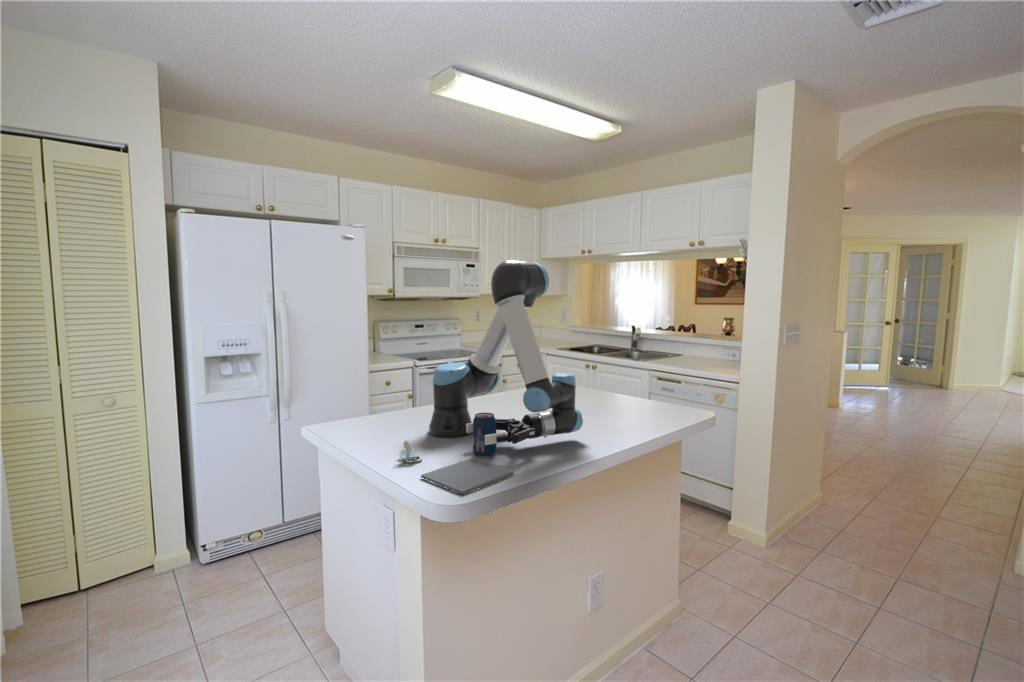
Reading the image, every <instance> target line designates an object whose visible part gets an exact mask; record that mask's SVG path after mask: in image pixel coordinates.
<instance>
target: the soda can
mask: <svg viewBox="0 0 1024 682" xmlns="http://www.w3.org/2000/svg"><path fill="white" fill-rule="evenodd" d="M496 419H497V418H496V417H495V414H494V413H492V412H478V413H475V414H474V418H473V420H472V423H473V432H472V451H473V452H474V455H475V456H476V457H478V456H479V458H489V457H490V458H491V457H493V456H494V455H495V453H496V452H497V443H496V444H490V445H485V435H489V434H496V433H497V430H496Z"/></svg>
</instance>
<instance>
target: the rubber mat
mask: <svg viewBox="0 0 1024 682" xmlns="http://www.w3.org/2000/svg"><path fill="white" fill-rule="evenodd" d="M512 475H513V476H514V471H512V470H509V469H506V468H503V467H500V466H498V465H494V464H490V463H489V462H486V461H482V460H481V459H480V460H479V459H476V458H473V457H471V458H468V459H465V460H462V461H459V462H456V463H452V464H449V465H447V466H444V467H443V466H442V467H441V468H437V469H434V470H431V471H429V472H426V473H422V474H421V475H420V478H421V477H422V478H424V479H427V480H429V481H432V482H434V483H436V484H439V485H441V486H443V487H446V488H448V489H450V490H453V491H455V492H457V493H459V494H462V495H463V494H465V495H467V494H466V493H468V494H470V493H472V492H471V491H473V490H475V491H477V490H476V489H478V488H480V489H482V488H481V487H483V488H485V487H487V486H486V485H488V486H490V485H492V484H491V483H493V484H495V483H498V482H500V481H502V479H503V480H505V479H507V477H508V478H510V477H509V476H511V477H513V476H512ZM504 478H505V479H504ZM499 480H500V481H499ZM497 481H498V482H497ZM494 482H495V483H494ZM489 484H490V485H489ZM484 486H485V487H484ZM450 490H449V491H450ZM478 490H479V489H478ZM455 492H454V493H455ZM469 492H470V493H469ZM473 492H474V491H473ZM457 493H456V494H457ZM459 494H458V495H459ZM462 495H461V496H462ZM463 496H464V495H463Z"/></svg>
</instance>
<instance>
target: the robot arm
mask: <svg viewBox="0 0 1024 682" xmlns="http://www.w3.org/2000/svg"><path fill="white" fill-rule="evenodd" d="M549 285H550V277H549V274H548V271H547V269H546V267H544V266H543V265H541V264H540V263H537V262H535V261H523V260H515V259H509V260H505V261H503V262H501V263H500V264H498V265H497V266H496V267H495V269H494V271H493V273H492V276H491V281H490V286H491V295H492V299H493V302H494V305H495V307H496V308H497V310H496V311H495V314H494V316H493V318H492V320H491V323H490V324H489V327H488V328H487V330H486V333H485V334H484V337H483V338H482V340H481V343H480V345H479V347H478V349H477V350H476V353H472V354H471V355H469V356H470V357H469V358H468V360H467V362H466V363H464V362H451V363H450V362H449V363H443V364H441V365H438V366H436V367H435V368H434V371H433V378H432V382H433V385H432V386H433V413H432V415H431V420H430V423H429V424H428V430H429V431H428V433H429V434H430V435H431V434H433V435H432V436H434V435H435V436H434V437H439V438H456V437H457V438H458V437H463V436H464V437H465V436H467V435H470V434H473V421H472V419H471V416H470V412H469V408H468V406H469V405H468V403H469V402H468V399H469V398H470V399H471V398H475V397H478V396H479V397H480V396H482V395H483V396H485V395H487V394H489V393H491V392H493V391H494V390H495V389H496V388H497V386H498V385H499V382H500V376H499V374H500V372H499V371H500V365H499V363H500V360H501V358H502V356H503V354H504V353H505V350H506V349H507V346H508V344H509V342H510V343H511V345H512V349H513V353H514V355H515V358H516V361H517V364H518V368H519V370H520V374H521V376H522V379H523V383H524V386H525V389H526V390H525V392H524V393H523V397H522V401H523V405H524V407H525V408H526V410H527V411H529V412H530V413H529V414H525V415H523V417H522V420H519V419H515V418H505V419H504V418H495V419H496V431H504V432H498V433H497V432H496V434H489V435H485V445H490V444H496V445H497V444H501V443H511V444H513V445H514V444H518V443H521V442H523V441H525V440H527V439H528V440H529V439H537V438H540V437H541V438H544V439H545V438H547V437H549V436H555V435H563V434H571V433H575V432H577V431H580V430H581V429H582V426H583V424H584V418H583V415H582V412H581V411H580V410H579V409H578V408H576V391H577V390H576V388H577V386H576V377H575V375H574V374H572V373H569V372H567V373H566V372H557V373H554V374H552V377H551V381H550V379H549V375H548V372H547V370H546V366H545V362H544V360H543V357H542V353H541V351H540V348H539V345H538V342H537V339H536V336H535V333H534V330H533V327H532V324H531V321H530V318H529V315H528V311H527V309H530V308H532V307H533V305H534V303H535V301H536V299H537V298H539V297H541V296H543V295H544V294H546V292H547V291H548V289H549ZM550 409H551V411H548V410H550Z"/></svg>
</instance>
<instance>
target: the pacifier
mask: <svg viewBox="0 0 1024 682" xmlns="http://www.w3.org/2000/svg"><path fill="white" fill-rule="evenodd" d="M403 448H404V449H402V450H400V451H399V453H398V455H399V458H400V459H402V460H403V461H405V460H407V461H412V462H411V463H419V461H420V462H422V461H423V457H422V456H421V455H419V454H417V453H416V452H415V451H413V450H412V449H411V444H410V443H409V440H408V439H405V440H404V442H403ZM418 457H419V458H418ZM421 460H422V461H421Z"/></svg>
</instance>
